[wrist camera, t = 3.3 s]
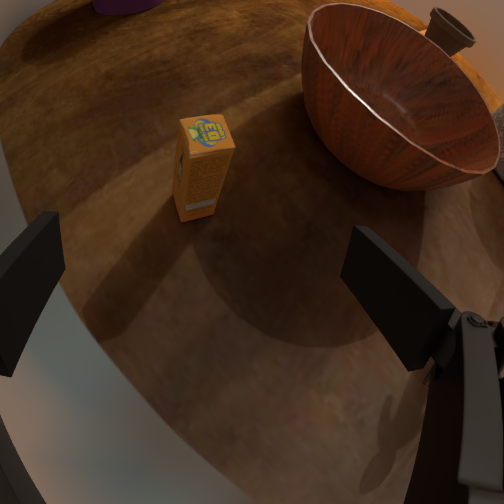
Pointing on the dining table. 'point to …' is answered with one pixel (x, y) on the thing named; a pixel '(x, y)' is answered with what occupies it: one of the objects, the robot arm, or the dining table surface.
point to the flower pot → (448, 32)
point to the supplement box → (201, 165)
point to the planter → (503, 124)
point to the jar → (123, 6)
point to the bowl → (393, 102)
